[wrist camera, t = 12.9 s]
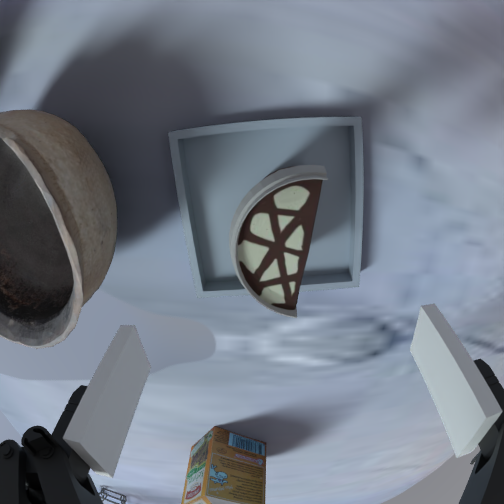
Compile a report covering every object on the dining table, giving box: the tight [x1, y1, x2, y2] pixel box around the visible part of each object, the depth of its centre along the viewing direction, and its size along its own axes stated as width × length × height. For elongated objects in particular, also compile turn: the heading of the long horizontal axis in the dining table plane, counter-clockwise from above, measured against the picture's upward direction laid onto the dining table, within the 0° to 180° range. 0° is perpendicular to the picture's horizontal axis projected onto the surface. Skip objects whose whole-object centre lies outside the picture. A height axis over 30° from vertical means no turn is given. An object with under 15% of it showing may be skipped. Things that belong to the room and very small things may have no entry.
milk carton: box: [181, 426, 266, 504], centre depth 43 cm, size 11×11×19 cm
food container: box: [229, 165, 328, 318], centre depth 27 cm, size 12×6×10 cm, turn 173°
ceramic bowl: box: [0, 110, 117, 349], centre depth 25 cm, size 22×22×15 cm
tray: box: [168, 116, 364, 298], centre depth 31 cm, size 18×18×2 cm
